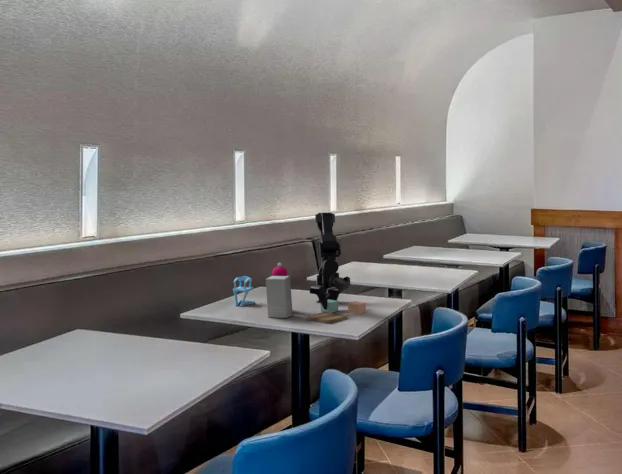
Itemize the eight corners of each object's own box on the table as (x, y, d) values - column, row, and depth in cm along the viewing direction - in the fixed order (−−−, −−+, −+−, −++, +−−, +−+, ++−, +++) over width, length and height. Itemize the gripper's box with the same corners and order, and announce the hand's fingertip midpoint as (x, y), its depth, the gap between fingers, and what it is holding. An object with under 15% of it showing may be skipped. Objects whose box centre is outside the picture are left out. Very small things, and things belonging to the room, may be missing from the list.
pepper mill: (292, 310, 247) (291, 261, 245) (284, 313, 240) (283, 264, 238) (276, 308, 250) (275, 261, 248) (268, 312, 243) (267, 263, 241)
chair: (230, 305, 257) (229, 277, 256) (239, 301, 265) (239, 274, 263) (246, 307, 254) (245, 278, 253) (255, 303, 262) (254, 275, 260)
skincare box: (292, 315, 238) (292, 275, 236) (286, 319, 231) (285, 278, 230) (273, 313, 241) (272, 274, 239) (265, 317, 234) (265, 277, 232)
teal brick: (320, 311, 244) (320, 301, 243) (328, 309, 247) (328, 299, 247) (330, 312, 240) (330, 303, 240) (338, 310, 244) (338, 300, 244)
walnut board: (306, 319, 230) (306, 316, 230) (324, 314, 239) (324, 311, 238) (329, 323, 223) (329, 320, 223) (347, 318, 231) (347, 315, 231)
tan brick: (348, 313, 241) (348, 303, 241) (355, 311, 245) (355, 301, 244) (358, 314, 238) (358, 304, 237) (365, 312, 242) (365, 302, 241)
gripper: (330, 275, 230) (330, 315, 232) (359, 269, 244) (359, 307, 246) (308, 272, 237) (308, 311, 239) (337, 266, 251) (337, 303, 253)
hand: (329, 308), depth 244 cm, fingers closed on teal brick, 5 cm apart
